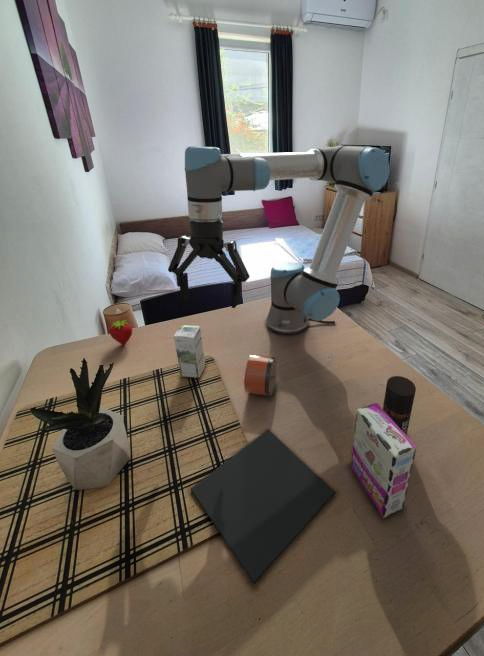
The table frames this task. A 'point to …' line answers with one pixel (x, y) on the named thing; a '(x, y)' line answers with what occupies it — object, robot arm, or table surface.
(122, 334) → the strawberry
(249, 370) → the jar
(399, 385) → the deodorant
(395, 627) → the table surface
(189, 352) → the syrup box
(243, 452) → the mat
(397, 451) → the candy bar box
